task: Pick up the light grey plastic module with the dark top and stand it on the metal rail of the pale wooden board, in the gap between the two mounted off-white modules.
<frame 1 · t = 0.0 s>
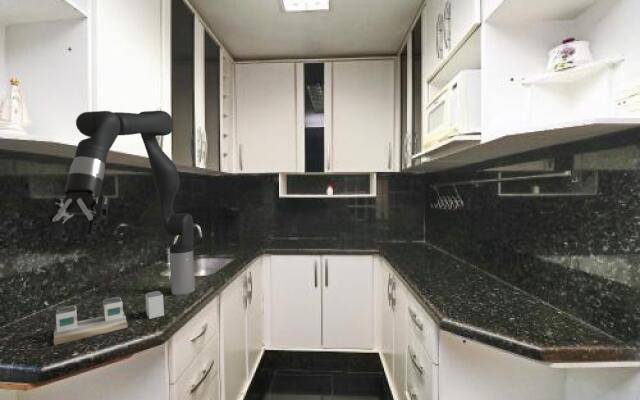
hand: (72, 236, 83), 31 cm above the worktop, tool tilted 20°, fingers open, 8 cm apart
module: (155, 314, 114), on the worktop
rail board: (91, 329, 103), on the worktop
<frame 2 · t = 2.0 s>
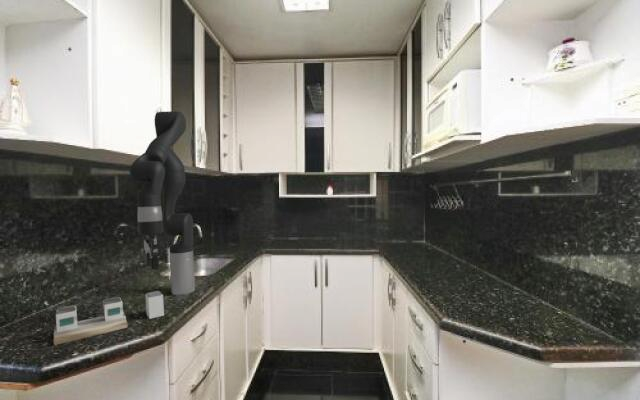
hand: (152, 267, 113), 17 cm above the worktop, tool pointing down, fingers open, 8 cm apart
nothing on the worktop moved.
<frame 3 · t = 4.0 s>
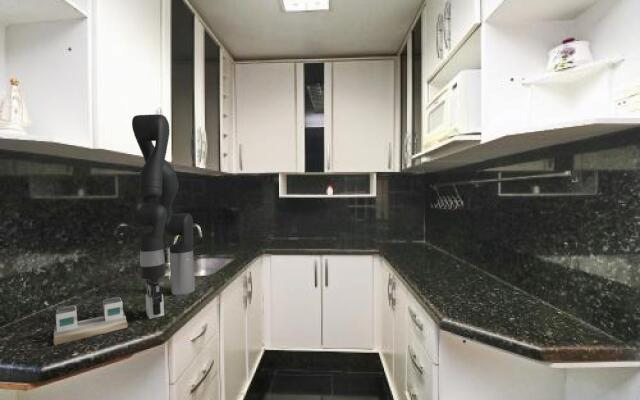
hand: (155, 311, 114), 1 cm above the worktop, tool pointing down, fingers closed on module, 5 cm apart
module: (155, 314, 114), on the worktop, touching gripper
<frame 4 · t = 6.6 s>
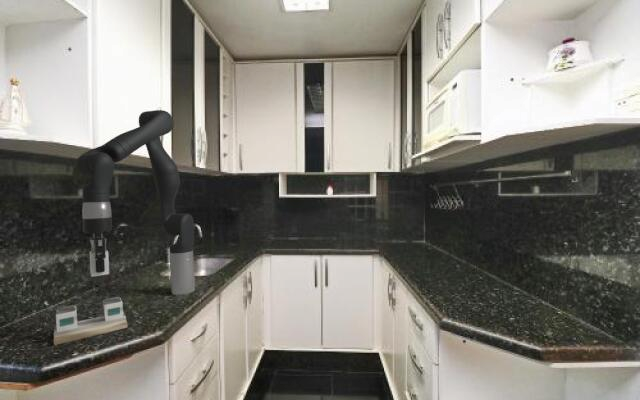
hand: (99, 270, 104), 18 cm above the worktop, tool pointing down, fingers closed on module, 5 cm apart
module: (99, 273, 104), point 17 cm above the worktop, touching gripper
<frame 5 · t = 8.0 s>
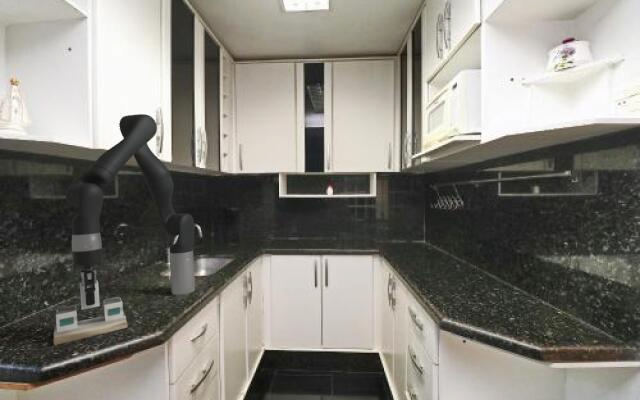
hand: (90, 302, 103), 9 cm above the worktop, tool pointing down, fingers closed on module, 5 cm apart
module: (90, 305, 103), point 8 cm above the worktop, touching gripper
when the fingers open (5 cm above the worktop, at t = 9.3 s): module drops 1 cm, resting on rail board.
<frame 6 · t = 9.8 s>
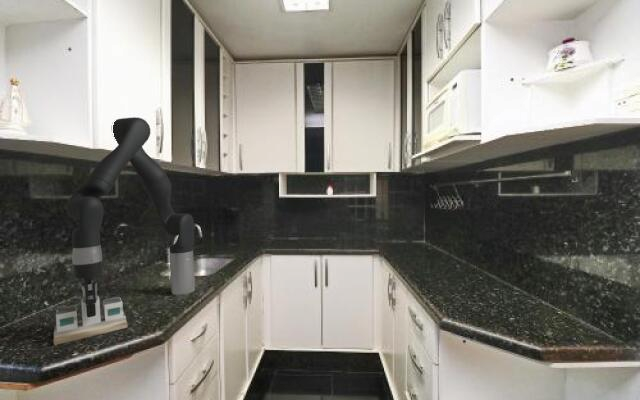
hand: (90, 312, 103), 5 cm above the worktop, tool pointing down, fingers open, 8 cm apart
module: (91, 321, 103), point 2 cm above the worktop, touching rail board
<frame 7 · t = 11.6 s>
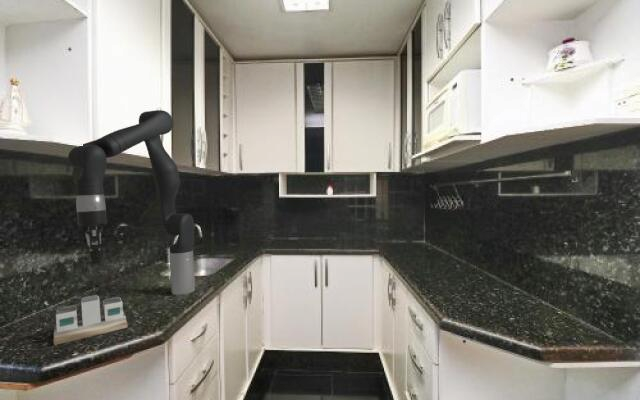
hand: (95, 260, 104), 21 cm above the worktop, tool pointing down, fingers open, 8 cm apart
nothing on the worktop moved.
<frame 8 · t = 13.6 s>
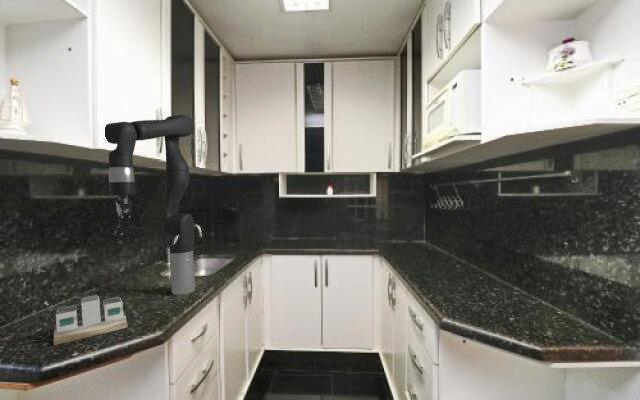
hand: (124, 228, 113), 30 cm above the worktop, tool pointing down, fingers open, 8 cm apart
nothing on the worktop moved.
at the end: module 0.1 cm off-centre on the rail board, point 2.5 cm above the rail board's base; module tilted 0°; the gripper is holding nothing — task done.
